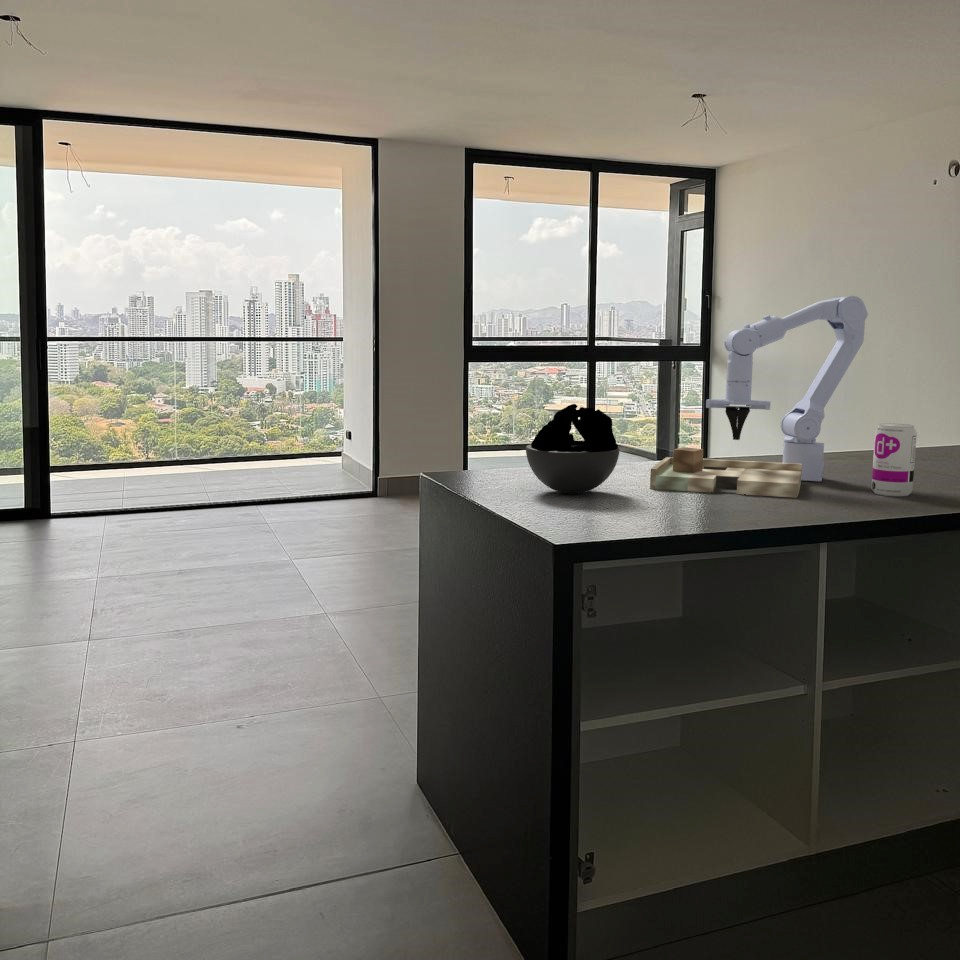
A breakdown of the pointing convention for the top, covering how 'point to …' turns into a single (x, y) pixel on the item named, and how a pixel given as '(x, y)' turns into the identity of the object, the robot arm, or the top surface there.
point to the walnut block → (688, 460)
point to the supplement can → (894, 459)
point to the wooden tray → (731, 478)
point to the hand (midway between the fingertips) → (736, 439)
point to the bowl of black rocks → (574, 451)
